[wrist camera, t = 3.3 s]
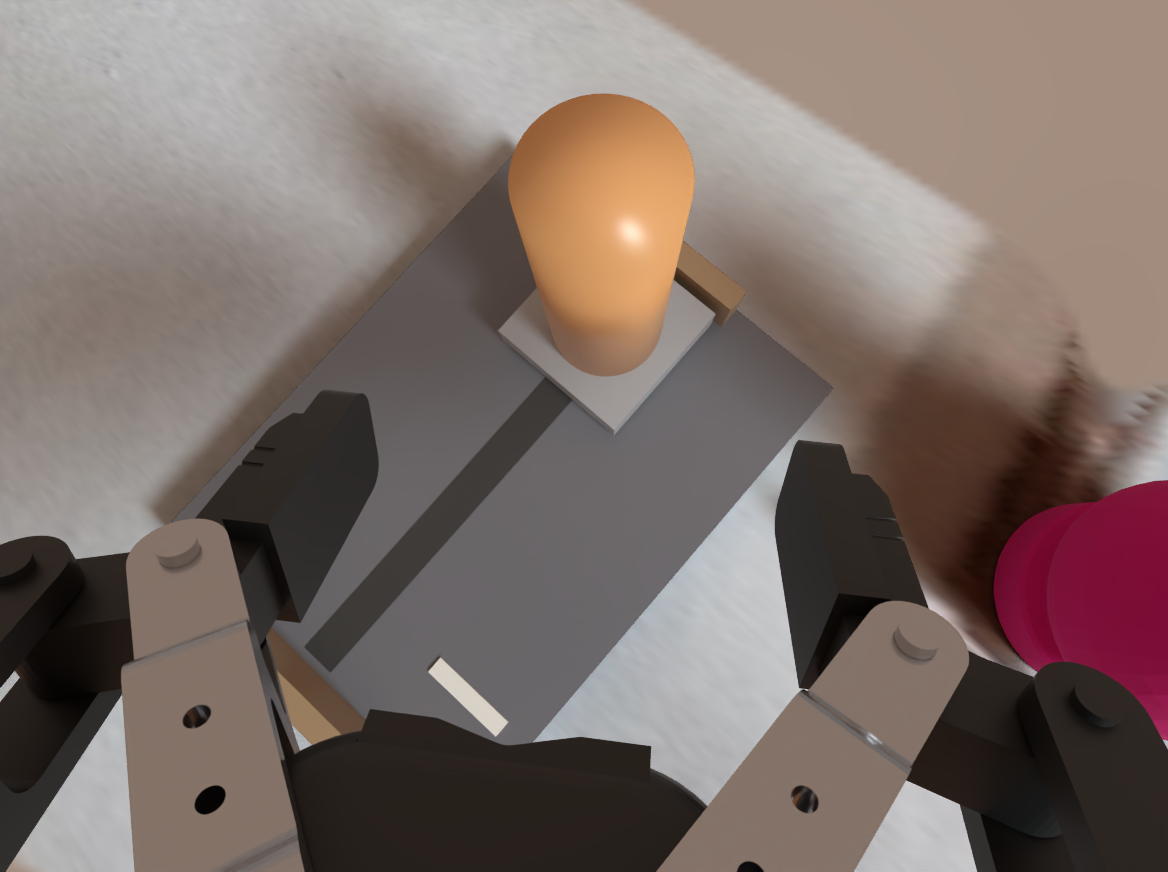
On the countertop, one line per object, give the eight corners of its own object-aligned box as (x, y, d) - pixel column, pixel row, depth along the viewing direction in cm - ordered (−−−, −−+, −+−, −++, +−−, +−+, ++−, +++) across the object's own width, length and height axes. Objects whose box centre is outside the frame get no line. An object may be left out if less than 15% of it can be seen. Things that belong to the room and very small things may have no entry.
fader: (503, 340, 23) (419, 194, 13) (599, 235, 24) (588, 14, 14) (614, 435, 23) (614, 357, 13) (710, 325, 23) (785, 164, 13)
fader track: (179, 542, 25) (112, 544, 21) (531, 163, 26) (519, 110, 23) (460, 820, 23) (434, 867, 20) (820, 396, 24) (852, 375, 21)
